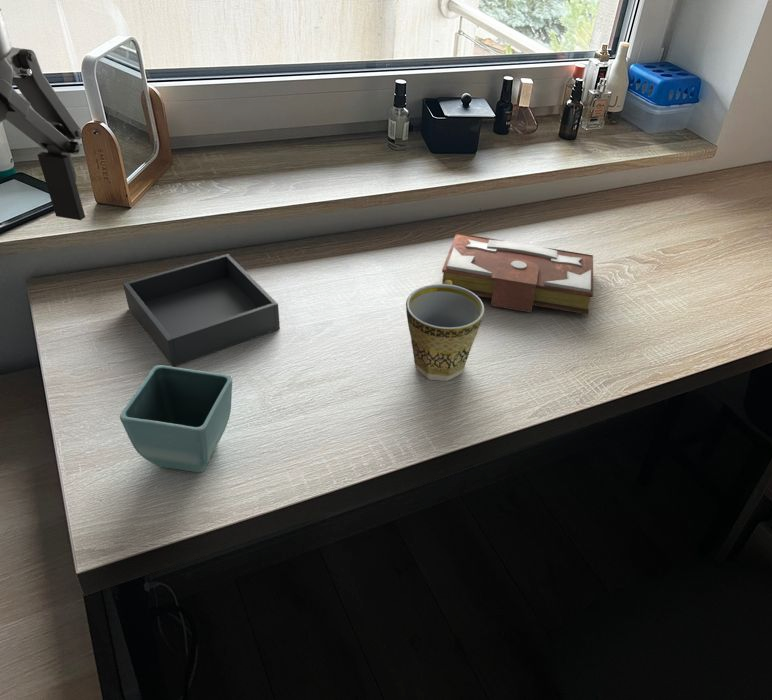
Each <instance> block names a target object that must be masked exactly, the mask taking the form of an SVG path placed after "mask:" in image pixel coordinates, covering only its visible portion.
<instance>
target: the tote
mask: <svg viewBox="0 0 772 700" xmlns="http://www.w3.org/2000/svg"><path fill="white" fill-rule="evenodd" d="M122 285H123V289H124V294H125V299H126V303H127V306H128V310H129V311H130V312H131V313H132V315H133V316H134V317H135V319H136V320H137V322H138V323H139V324H140V325H141V327H142V328H143V329H144V331H146V334H147V335H148V336H149V337H150V339H151V340H152V342H153V343H154V344H155V345H156V347H157V348H158V349H159V350H160V352H161V353H162V355H163V356H164V357H165V358H166V360H167V361H168V363H169V364H170V366H171V367H176V366H179V365H182V364H184V363H185V364H186V363H188V362H191V361H193V360H196V359H199V358H202V357H205V356H208V355H210V354H213V353H216V352H218V351H222V350H225V349H228V348H230V347H234V346H236V345H238V344H242V343H244V342H247V341H250V340H252V339H255V338H258V337H261V336H265V335H267V334H269V333H272V332H276V331H278V330H280V329H281V327H280V326H281V324H280V323H281V321H280V310H279V309H280V308H279V303H278V302H277V301H276V300H275V299H274V298H273V297H272V296H271V295H270V294H269V293H268V292H267V291H266V290H265V289H264V288H263V287H262V286H261V285H260V284H259V283H258V282H257V281H256V280H255V279H254V278H253V277H252V276H251V275H250V274H249V273H248V272H247V271H246V270H245V269H244V268H243V267H242V266H241V265H240V264H239V263H238V261H236V260H235V259H234V258H233V257H232V256H231V255H230V254H229V253H225V254H222V255H218V256H214V257H211V258H207V259H204V260H200V261H197V262H192V263H190V264H185V265H184V266H179V267H175V268H172V269H168V270H165V271H161V272H158V273H153V274H151V275H146V276H144V277H140V278H136V279H133V280H129V281H126V282H123V283H122Z"/></svg>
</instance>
